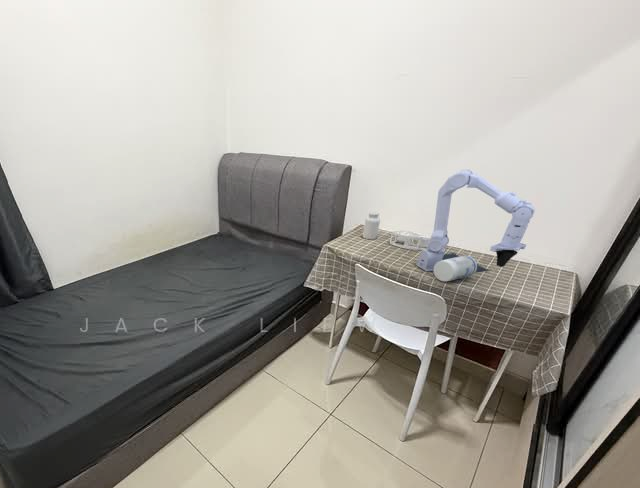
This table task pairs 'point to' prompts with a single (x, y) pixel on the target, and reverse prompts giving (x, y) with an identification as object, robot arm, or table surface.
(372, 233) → the pill bottle
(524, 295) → the table surface
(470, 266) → the supplement tub
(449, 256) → the desk mat
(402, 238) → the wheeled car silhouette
